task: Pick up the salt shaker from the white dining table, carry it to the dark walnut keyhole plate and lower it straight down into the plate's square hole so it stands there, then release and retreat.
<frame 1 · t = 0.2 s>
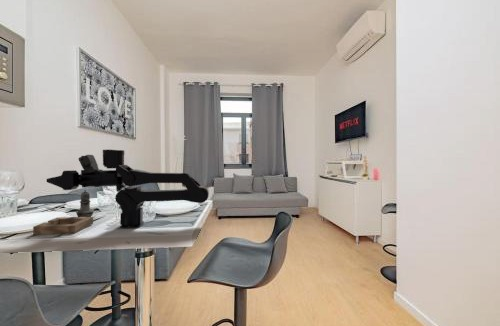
hand: (55, 179, 85), 17 cm above the table, tool horizontal, fingers open, 9 cm apart
keyhole plate: (65, 228, 84), on the table
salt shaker: (85, 221, 95), on the table
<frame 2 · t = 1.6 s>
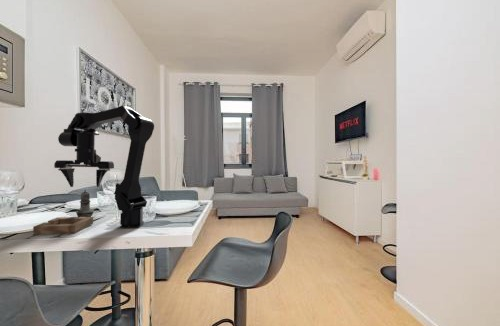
hand: (85, 187, 95), 13 cm above the table, tool pointing down, fingers open, 9 cm apart
nothing on the table moved.
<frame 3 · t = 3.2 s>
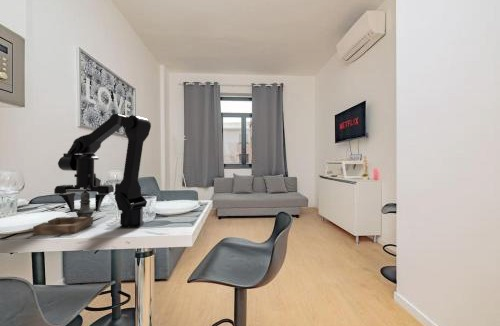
hand: (85, 211, 95), 4 cm above the table, tool pointing down, fingers closed on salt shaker, 8 cm apart
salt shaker: (85, 221, 95), on the table, touching gripper
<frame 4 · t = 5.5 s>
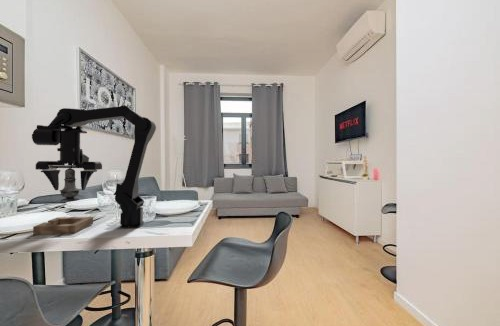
hand: (70, 190, 86), 13 cm above the table, tool pointing down, fingers closed on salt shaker, 8 cm apart
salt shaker: (70, 200, 86), point 9 cm above the table, touching gripper
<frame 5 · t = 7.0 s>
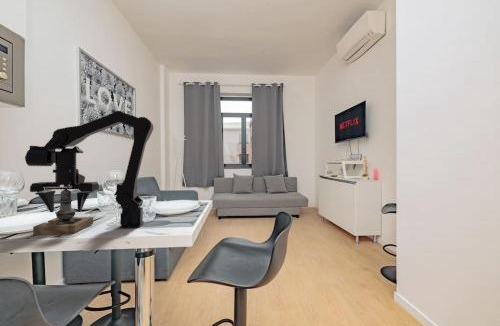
hand: (66, 211, 84), 6 cm above the table, tool pointing down, fingers closed on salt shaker, 8 cm apart
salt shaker: (65, 222, 84), point 2 cm above the table, touching gripper
when the fingers open (5 cm above the table, at t = 8.1 s): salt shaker drops 2 cm, resting in keyhole plate.
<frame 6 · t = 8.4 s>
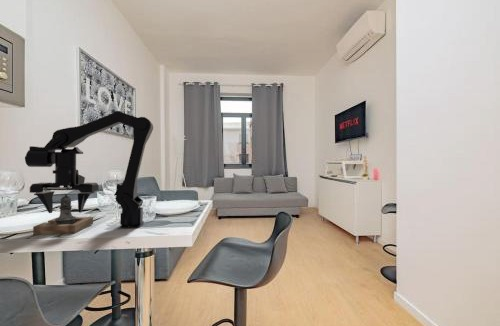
hand: (65, 212, 84), 5 cm above the table, tool pointing down, fingers open, 9 cm apart
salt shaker: (65, 229, 84), resting in keyhole plate
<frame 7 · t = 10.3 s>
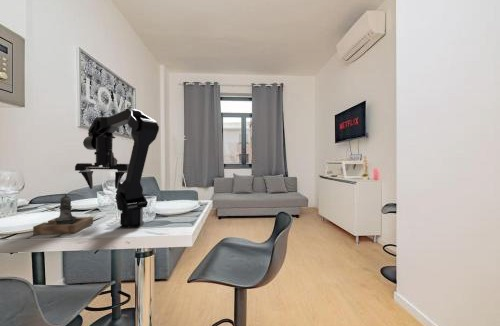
hand: (103, 188, 98), 12 cm above the table, tool pointing down, fingers open, 9 cm apart
nothing on the table moved.
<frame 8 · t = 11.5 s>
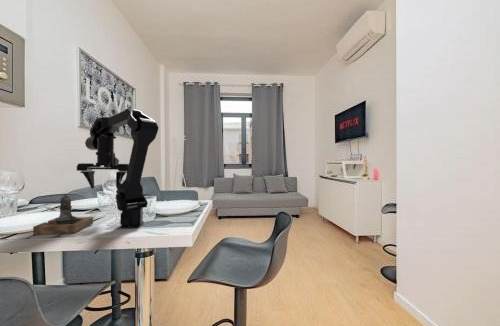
hand: (105, 188, 99), 12 cm above the table, tool pointing down, fingers open, 9 cm apart
nothing on the table moved.
at the end: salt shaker 0.0 cm off-centre on the keyhole plate, point 0.0 cm above the keyhole plate's base; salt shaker tilted 0°; the gripper is holding nothing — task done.
